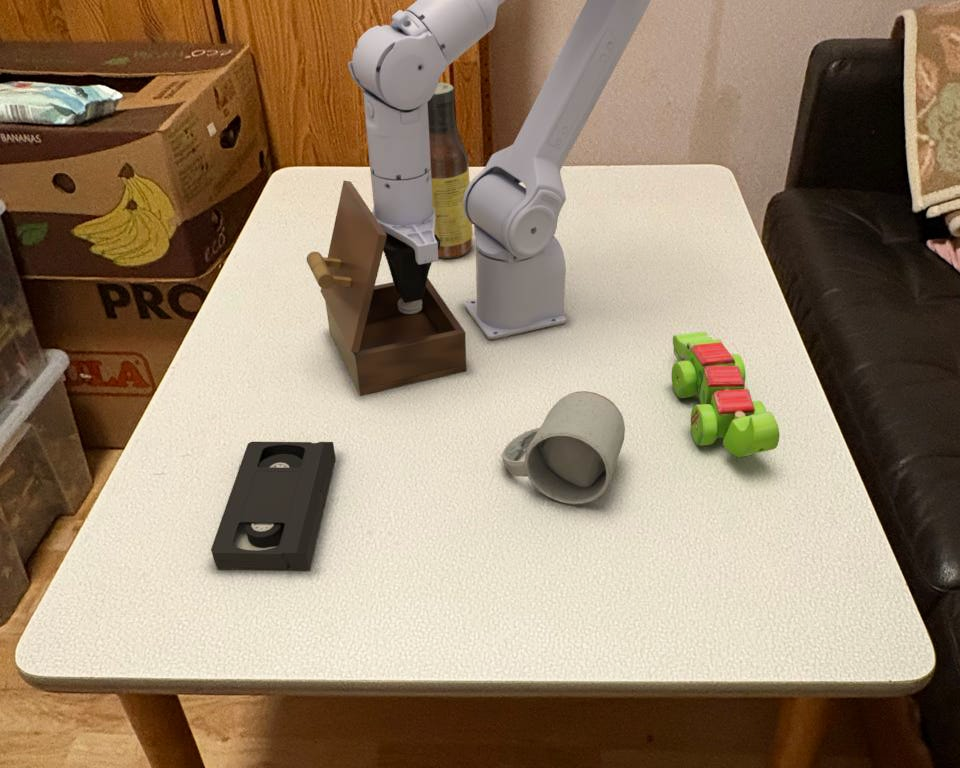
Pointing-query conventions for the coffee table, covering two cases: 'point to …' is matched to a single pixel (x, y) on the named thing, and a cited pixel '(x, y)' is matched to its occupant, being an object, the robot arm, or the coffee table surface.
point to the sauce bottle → (448, 175)
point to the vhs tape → (275, 507)
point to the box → (403, 342)
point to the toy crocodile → (720, 396)
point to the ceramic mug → (571, 449)
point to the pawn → (409, 306)
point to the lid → (350, 265)
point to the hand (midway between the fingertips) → (409, 295)
